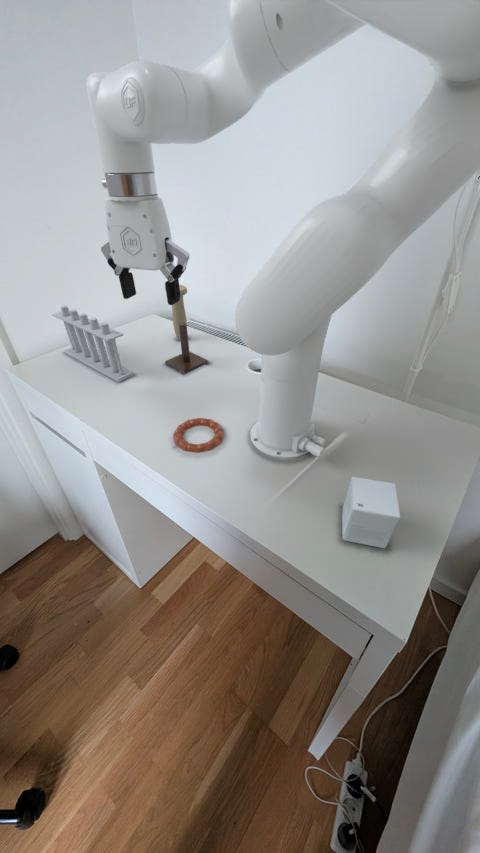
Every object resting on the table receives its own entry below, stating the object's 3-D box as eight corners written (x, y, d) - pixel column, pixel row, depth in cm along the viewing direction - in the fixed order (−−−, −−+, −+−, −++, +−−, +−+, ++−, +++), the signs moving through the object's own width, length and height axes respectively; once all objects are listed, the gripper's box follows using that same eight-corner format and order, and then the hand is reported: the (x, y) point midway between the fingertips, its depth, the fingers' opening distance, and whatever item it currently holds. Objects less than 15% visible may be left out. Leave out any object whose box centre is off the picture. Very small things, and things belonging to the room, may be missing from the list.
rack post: (208, 363, 90) (205, 323, 83) (185, 374, 85) (180, 333, 78) (188, 354, 94) (184, 315, 87) (165, 364, 89) (159, 324, 82)
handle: (182, 344, 98) (176, 292, 89) (168, 338, 102) (161, 287, 92) (195, 339, 101) (190, 287, 92) (181, 333, 104) (175, 283, 95)
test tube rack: (133, 375, 85) (121, 324, 76) (118, 382, 82) (104, 330, 74) (79, 347, 97) (64, 301, 89) (65, 353, 94) (48, 305, 86)
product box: (386, 550, 47) (401, 518, 43) (341, 541, 48) (351, 509, 44) (382, 515, 52) (396, 483, 47) (341, 507, 53) (351, 475, 48)
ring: (233, 437, 66) (233, 430, 65) (197, 463, 61) (196, 456, 59) (201, 417, 71) (200, 410, 70) (164, 439, 66) (162, 432, 65)
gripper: (71, 188, 52) (101, 300, 63) (167, 190, 47) (182, 312, 58) (103, 185, 58) (126, 289, 68) (193, 186, 52) (202, 298, 63)
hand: (151, 299), depth 63 cm, fingers open, 9 cm apart
